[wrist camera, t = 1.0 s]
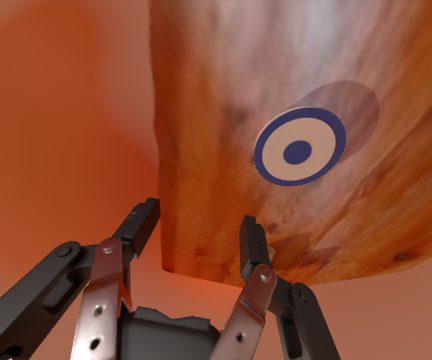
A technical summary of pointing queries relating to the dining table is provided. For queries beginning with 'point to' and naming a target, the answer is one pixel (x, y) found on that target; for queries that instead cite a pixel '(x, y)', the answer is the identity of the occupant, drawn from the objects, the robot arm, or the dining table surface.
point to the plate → (299, 146)
